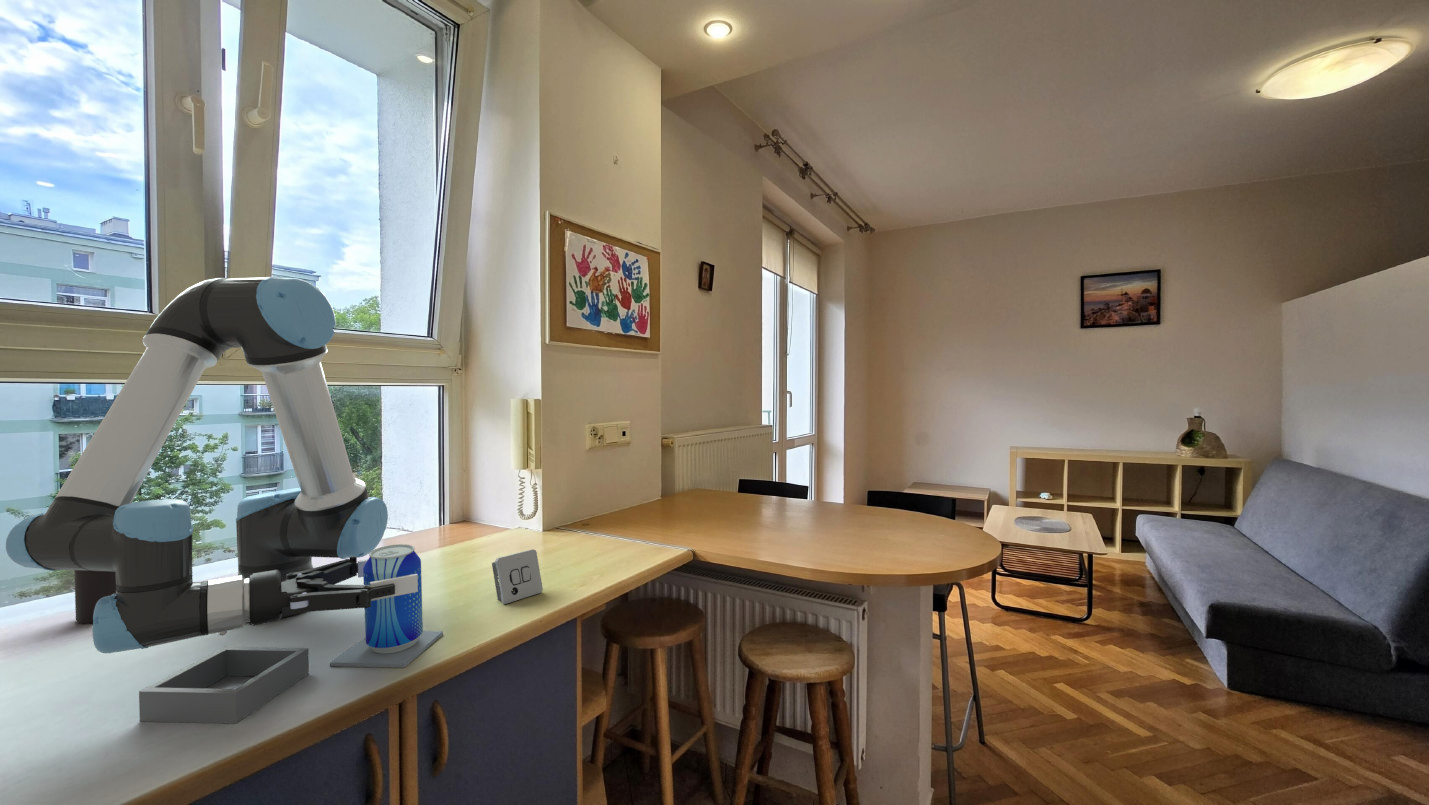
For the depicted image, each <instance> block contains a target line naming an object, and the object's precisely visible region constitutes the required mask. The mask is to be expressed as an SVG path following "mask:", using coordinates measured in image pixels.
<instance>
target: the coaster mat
mask: <svg viewBox="0 0 1429 805" xmlns="http://www.w3.org/2000/svg"><path fill="white" fill-rule="evenodd" d="M442 636H444V631H441V630H439V631H438V630H423V632H422V634H421V636H420V637H419V638H418V641H417V642H416V643H415V644H414V645H413V646H411V647H410V648H408V649H405V650H402V651H399V652H395V653H388V654H381V653H376V652H374V651H372V649H371V647H369V646H368V645H367V644H366V637H364V638H362V640H360V641H359V642H357V643H356V644H354V645H353V646H351V647H350V648H348V649H346V651H344V652H343V653H341V654H340V655H338V656H337V657H336V658H334V659H332V660H331V661H330V662H329V667H348V668H349V667H355V668H357V667H358V668H406V667H408V665H409V664H411V663H412V662H413V661H414V660H415V659H417V658H418V657H420V655H421V654H423V653H424V652H425V650H427V649H428V648H429V647H430V646H432V645H433V644H434V643H436V642H437V640H439V639H440V638H441V637H442Z"/></svg>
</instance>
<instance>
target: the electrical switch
mask: <svg viewBox="0 0 1429 805" xmlns="http://www.w3.org/2000/svg"><path fill="white" fill-rule="evenodd" d="M491 566H492V572H493V579H494V580H493V581H494V584H495V591H496V592H495V593H496V598H497V601H500V602H501V603H502V604H503V605H506V604H510V603H514V602H517V601H518V600H522V599H525V598H528V597H531V596H534V595H538V594H540V593H542V592H543V590H544V587H543V582H542V576H541V572H540V571H541V570H540V564H539V559H538V552H537V550H536V549H534V548H533V549H532V548H531V549H527V550H524V551H519V552H516V553H511V554H507V555H504V556H499V557H497V558H496V559H495V561H494V562H491Z"/></svg>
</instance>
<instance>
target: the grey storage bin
mask: <svg viewBox="0 0 1429 805" xmlns="http://www.w3.org/2000/svg"><path fill="white" fill-rule="evenodd" d="M309 656H310V655H309V648H308V647H269V646H268V647H267V646H263V647H262V646H261V647H260V646H256V647H255V646H224V647H222V648H220V649H218V650H217V651H214V652H212V653H211V654H208V655H207V656H205V657H203V658H200V659H199V660H196V662H193V663H192V664H189V665H188V666H185V667H184V668H181V669H179V670H178V671H175V672H173V673H172V674H170V675H168V676H166V677H163V678H162V679H160V680H158V681H156V682H155V683H153V684H151V685H149V686H147V687H145V688H143V689H141V690H139V691H138V701H139V702H138V703H139V709H138V710H139V722H156V723H201V724H202V723H203V724H205V723H207V724H208V723H209V724H238V723H239V722H241V721H242V720H243V719H245V718H247V717H248V716H249V715H251V714H253V713H254V712H255V711H256V710H259V708H261V707H262V706H264V705H266V704H267V703H269V702H270V701H271V700H273V699H274V698H276V697H278V695H280V694H282V693H283V692H284V691H286V690H288V689H289V688H291V687H292V686H293V685H295V684H297V683H298V682H299V681H301V680H302V679H303V678H305V677H307V676H308V675H309V674H310V669H309V668H310V666H309V664H310V660H309V658H310V657H309ZM231 676H232V677H252V678H250V679H249V680H247V681H246V682H244V683H243V684H241V685H239V686H238V687H236V688H207V687H209V686H212V685H213V684H215V683H216V682H219V681H220V680H221V679H224V678H225V677H231Z"/></svg>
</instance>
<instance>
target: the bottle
mask: <svg viewBox="0 0 1429 805" xmlns="http://www.w3.org/2000/svg"><path fill="white" fill-rule="evenodd" d="M73 571H74V573H73V574H74V600H75V601H74V603H75V606H74V607H75V622H77V624H81V625H85V624H89V625H90V624H93V614H94V609H95V606H96V603H97V602H98V600H100V599H101V598H103V597H106V596H111V595H112V594H114V593H116V572H112V571H90V570H73Z"/></svg>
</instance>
